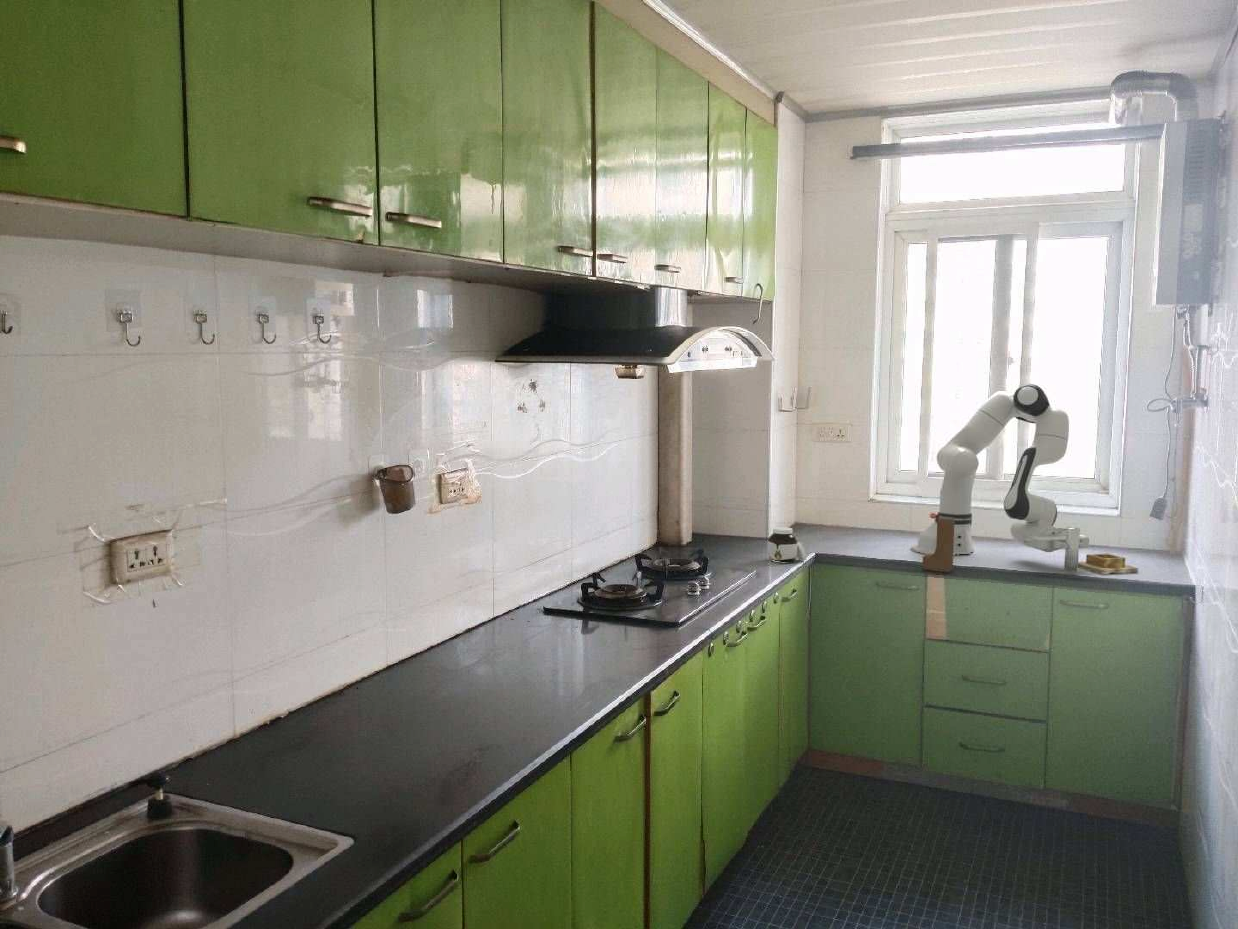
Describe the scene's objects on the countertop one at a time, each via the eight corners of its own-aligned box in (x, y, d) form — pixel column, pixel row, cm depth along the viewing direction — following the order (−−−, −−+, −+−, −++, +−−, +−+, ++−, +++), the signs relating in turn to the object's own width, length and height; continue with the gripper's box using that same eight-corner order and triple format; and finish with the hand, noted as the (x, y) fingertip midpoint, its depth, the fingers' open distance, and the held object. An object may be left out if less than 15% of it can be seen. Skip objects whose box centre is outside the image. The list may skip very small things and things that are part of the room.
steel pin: (1069, 571, 327) (1072, 529, 325) (1061, 568, 331) (1064, 527, 329) (1080, 570, 328) (1082, 528, 326) (1071, 568, 332) (1074, 526, 330)
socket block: (1101, 574, 328) (1102, 561, 328) (1073, 566, 342) (1073, 553, 342) (1137, 572, 332) (1138, 559, 331) (1108, 564, 345) (1108, 551, 345)
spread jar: (763, 560, 351) (764, 527, 350) (785, 556, 358) (785, 524, 357) (790, 566, 342) (790, 532, 341) (811, 561, 349) (812, 529, 348)
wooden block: (921, 569, 336) (923, 516, 334) (926, 567, 340) (928, 515, 338) (948, 573, 331) (950, 519, 329) (953, 570, 334) (955, 517, 332)
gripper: (1020, 530, 338) (1047, 537, 325) (1072, 528, 343) (1101, 536, 329) (1019, 548, 339) (1046, 556, 325) (1071, 547, 343) (1099, 554, 330)
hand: (1074, 546), depth 327 cm, fingers closed on steel pin, 4 cm apart
